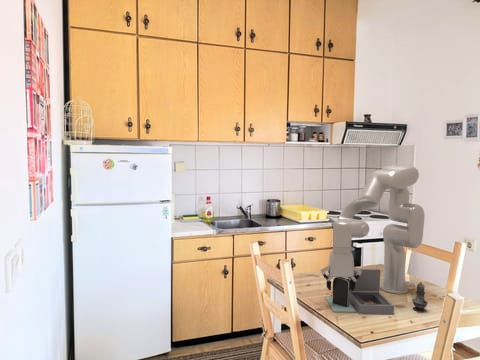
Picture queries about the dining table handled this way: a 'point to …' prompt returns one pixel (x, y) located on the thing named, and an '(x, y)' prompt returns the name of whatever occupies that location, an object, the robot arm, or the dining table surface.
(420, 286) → the dark grey upright piece
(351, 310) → the rubber mat
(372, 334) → the dining table surface
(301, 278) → the dining table surface
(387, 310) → the case
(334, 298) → the battery charger
